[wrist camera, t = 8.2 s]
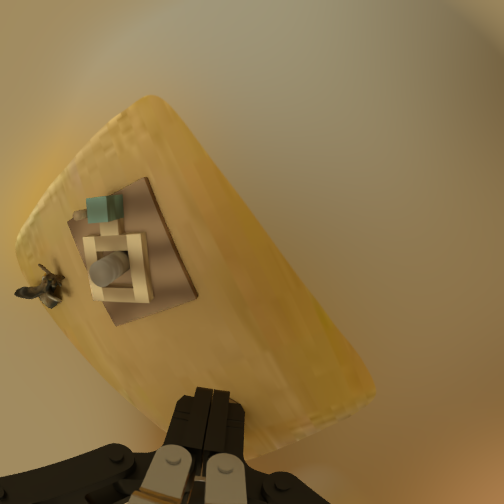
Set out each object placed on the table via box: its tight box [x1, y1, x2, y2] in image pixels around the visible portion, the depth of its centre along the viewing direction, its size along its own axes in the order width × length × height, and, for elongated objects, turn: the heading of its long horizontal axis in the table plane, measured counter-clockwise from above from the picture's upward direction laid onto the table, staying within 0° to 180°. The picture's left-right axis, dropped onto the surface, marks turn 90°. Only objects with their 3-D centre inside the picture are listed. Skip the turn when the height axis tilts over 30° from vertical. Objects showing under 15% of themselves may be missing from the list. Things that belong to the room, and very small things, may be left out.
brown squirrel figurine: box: [15, 264, 65, 309], centre depth 34 cm, size 8×7×9 cm
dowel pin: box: [73, 209, 87, 221], centre depth 31 cm, size 1×1×4 cm
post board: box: [68, 177, 198, 326], centre depth 31 cm, size 17×14×8 cm
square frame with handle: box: [83, 194, 154, 303], centre depth 32 cm, size 14×9×4 cm, turn 1°
